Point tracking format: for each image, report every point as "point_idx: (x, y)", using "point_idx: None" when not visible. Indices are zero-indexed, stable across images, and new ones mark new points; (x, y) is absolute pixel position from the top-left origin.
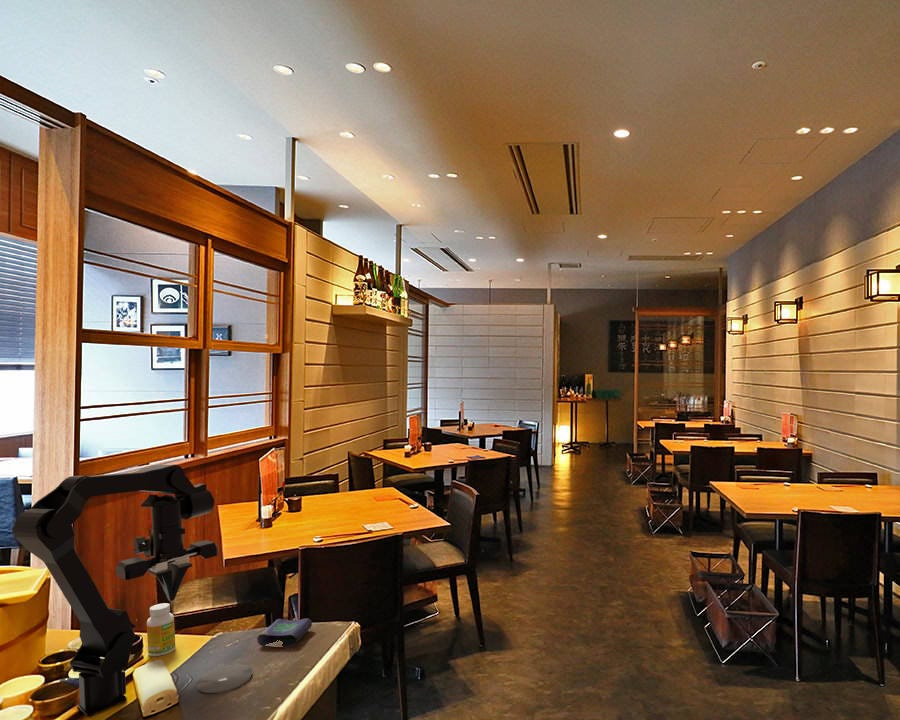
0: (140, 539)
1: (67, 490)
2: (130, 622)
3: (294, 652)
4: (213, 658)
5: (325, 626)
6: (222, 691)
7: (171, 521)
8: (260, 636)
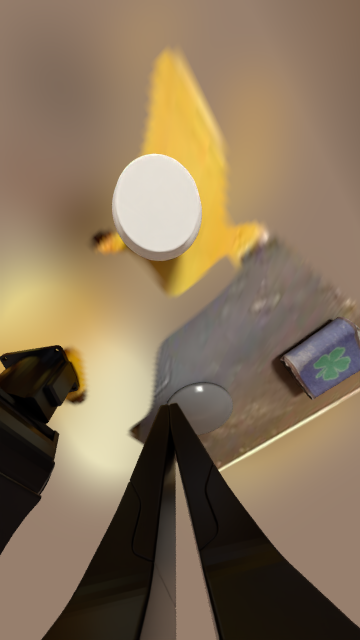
0: None
1: None
2: (16, 527)
3: (290, 396)
4: (216, 339)
5: None
6: None
7: None
8: (294, 352)
